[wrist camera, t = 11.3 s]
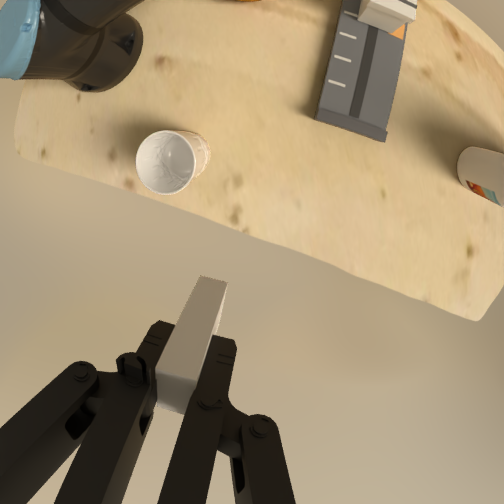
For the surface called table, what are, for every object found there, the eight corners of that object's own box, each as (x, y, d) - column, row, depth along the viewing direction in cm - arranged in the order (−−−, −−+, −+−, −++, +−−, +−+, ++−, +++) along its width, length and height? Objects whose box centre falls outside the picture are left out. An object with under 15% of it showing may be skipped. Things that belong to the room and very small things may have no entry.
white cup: (167, 127, 39) (136, 129, 30) (217, 130, 39) (198, 132, 30) (164, 176, 42) (134, 191, 33) (212, 181, 42) (193, 198, 33)
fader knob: (392, 35, 27) (415, 20, 20) (355, 21, 27) (370, 0, 20) (396, 13, 25) (417, -6, 18) (359, -2, 25) (374, -25, 18)
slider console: (378, 141, 37) (384, 142, 34) (313, 119, 37) (316, 119, 34) (404, 11, 26) (412, 5, 24) (344, -13, 26) (348, -20, 24)
